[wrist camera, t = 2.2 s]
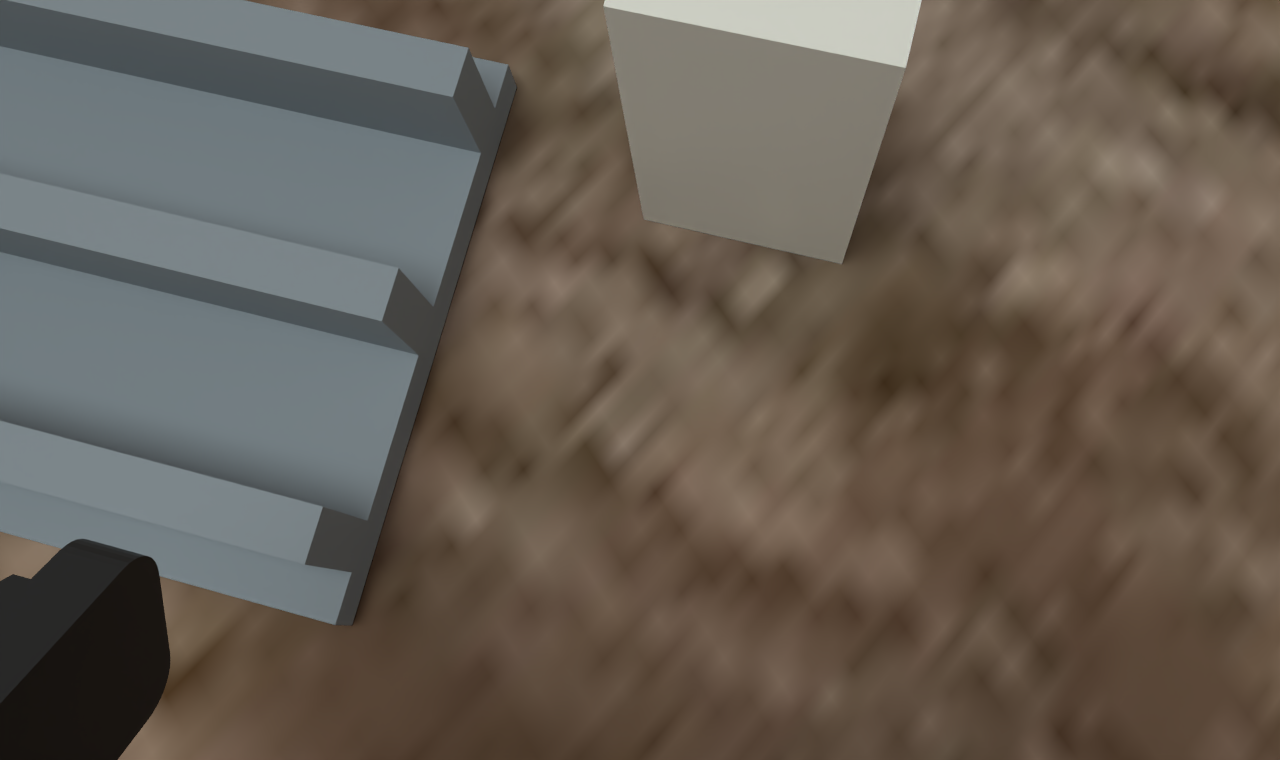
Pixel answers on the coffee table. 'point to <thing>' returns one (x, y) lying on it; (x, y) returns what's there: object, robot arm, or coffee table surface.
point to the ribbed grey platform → (226, 280)
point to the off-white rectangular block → (759, 112)
